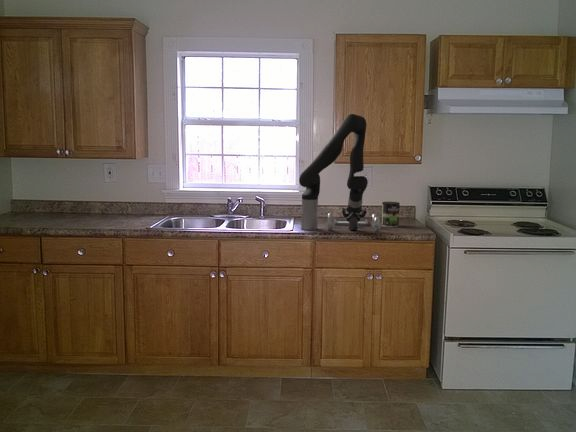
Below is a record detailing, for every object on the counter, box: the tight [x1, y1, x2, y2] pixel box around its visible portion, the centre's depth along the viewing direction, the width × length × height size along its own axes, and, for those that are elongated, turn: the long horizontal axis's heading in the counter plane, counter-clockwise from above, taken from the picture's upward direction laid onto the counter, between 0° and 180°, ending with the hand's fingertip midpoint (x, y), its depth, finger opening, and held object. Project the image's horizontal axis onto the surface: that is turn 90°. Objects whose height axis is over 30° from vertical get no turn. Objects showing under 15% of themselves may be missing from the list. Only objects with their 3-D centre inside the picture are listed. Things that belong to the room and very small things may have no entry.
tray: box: [333, 218, 370, 227], centre depth 335 cm, size 20×18×2 cm
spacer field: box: [327, 212, 381, 233], centre depth 315 cm, size 29×18×8 cm, turn 87°
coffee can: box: [381, 201, 400, 228], centre depth 327 cm, size 10×10×14 cm
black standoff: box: [348, 215, 359, 231], centre depth 310 cm, size 5×5×10 cm
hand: (353, 220), depth 312 cm, fingers closed on black standoff, 5 cm apart
